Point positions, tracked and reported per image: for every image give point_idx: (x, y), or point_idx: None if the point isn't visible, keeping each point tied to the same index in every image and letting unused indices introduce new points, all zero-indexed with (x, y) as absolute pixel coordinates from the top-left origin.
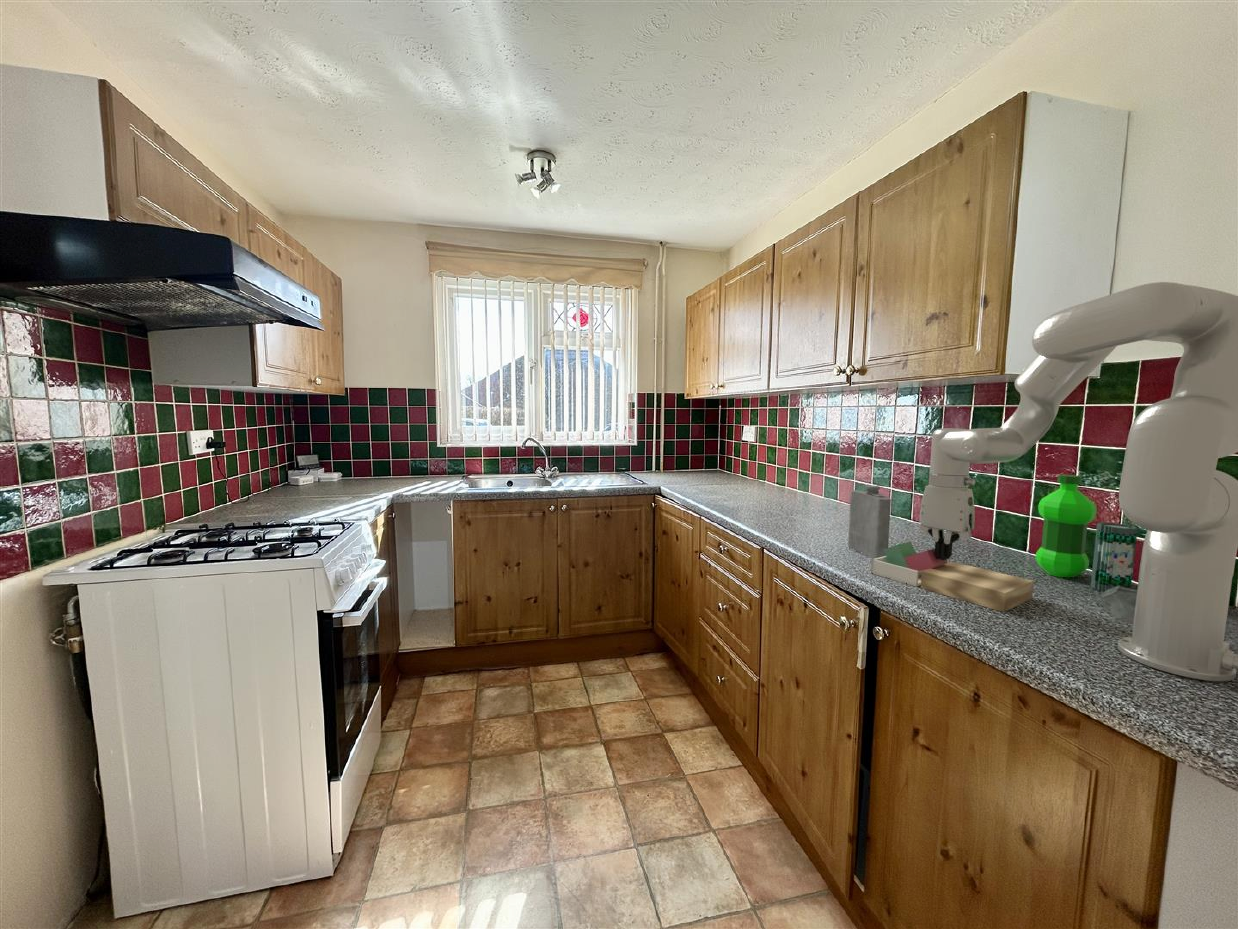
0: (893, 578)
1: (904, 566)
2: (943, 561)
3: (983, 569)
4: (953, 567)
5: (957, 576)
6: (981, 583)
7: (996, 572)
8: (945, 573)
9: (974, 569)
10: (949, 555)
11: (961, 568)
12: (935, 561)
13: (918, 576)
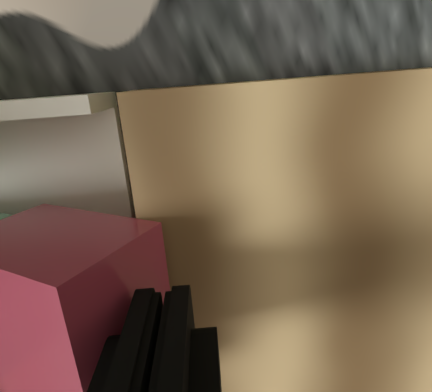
0: None
1: None
2: (154, 271)
3: (337, 90)
4: (208, 229)
5: (310, 364)
6: (425, 364)
7: (418, 80)
8: (250, 368)
9: (302, 150)
10: (219, 359)
11: (246, 206)
12: None
13: None
